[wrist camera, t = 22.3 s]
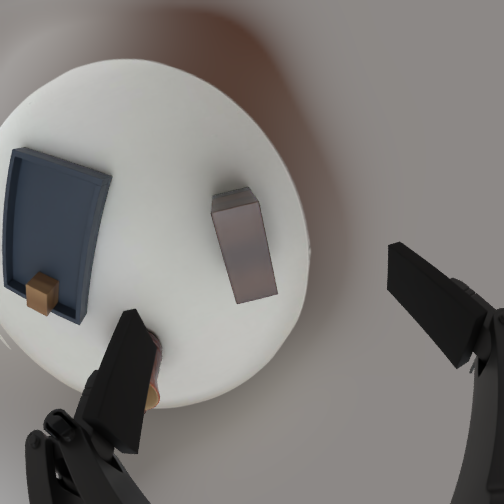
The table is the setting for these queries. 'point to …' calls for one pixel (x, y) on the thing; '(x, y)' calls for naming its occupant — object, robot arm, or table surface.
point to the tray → (52, 226)
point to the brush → (243, 244)
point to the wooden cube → (42, 293)
